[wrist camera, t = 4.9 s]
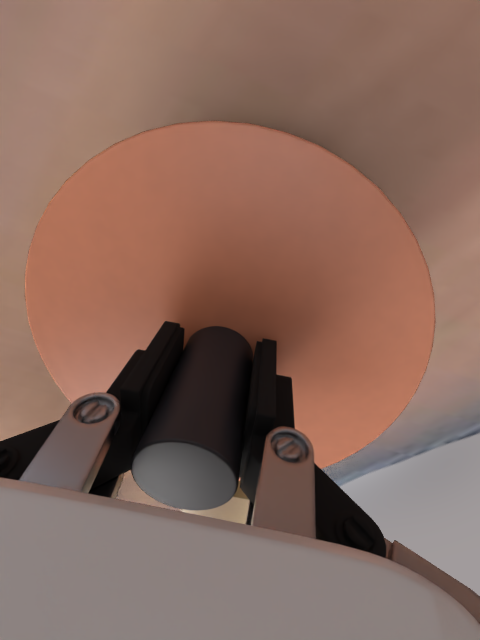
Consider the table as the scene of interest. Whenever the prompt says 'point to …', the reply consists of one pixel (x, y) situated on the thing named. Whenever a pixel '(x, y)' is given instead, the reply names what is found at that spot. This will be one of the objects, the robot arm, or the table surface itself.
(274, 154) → the lid
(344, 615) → the robot arm
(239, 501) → the block
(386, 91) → the table surface
